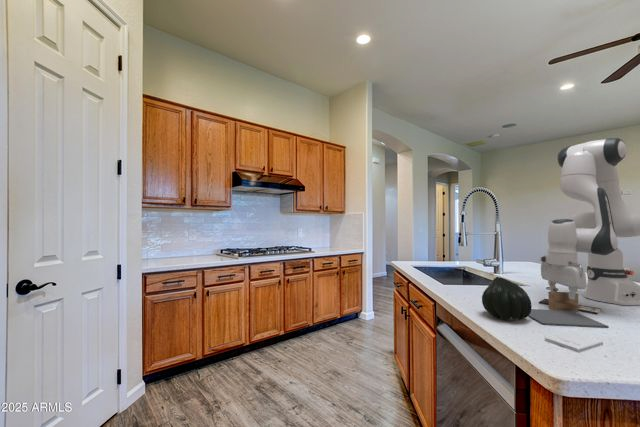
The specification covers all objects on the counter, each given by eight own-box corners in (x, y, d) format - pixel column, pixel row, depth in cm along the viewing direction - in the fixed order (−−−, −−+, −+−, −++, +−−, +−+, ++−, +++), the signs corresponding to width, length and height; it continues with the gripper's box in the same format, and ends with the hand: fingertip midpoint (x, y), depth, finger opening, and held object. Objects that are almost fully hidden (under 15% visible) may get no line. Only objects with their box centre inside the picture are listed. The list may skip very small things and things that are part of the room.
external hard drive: (603, 346, 82) (578, 354, 77) (568, 336, 90) (544, 342, 85) (602, 341, 82) (578, 348, 77) (568, 330, 90) (544, 336, 85)
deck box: (573, 310, 114) (573, 292, 114) (578, 312, 111) (578, 294, 111) (548, 309, 115) (548, 291, 115) (552, 311, 112) (552, 293, 112)
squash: (546, 311, 94) (525, 271, 105) (499, 312, 95) (482, 272, 105) (526, 328, 105) (508, 290, 115) (484, 328, 106) (470, 291, 116)
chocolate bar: (545, 298, 128) (601, 308, 114) (545, 300, 128) (601, 311, 114) (538, 302, 122) (596, 313, 108) (538, 304, 122) (596, 315, 108)
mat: (572, 312, 111) (572, 310, 111) (608, 328, 95) (608, 326, 95) (516, 309, 113) (516, 308, 113) (542, 324, 97) (542, 323, 97)
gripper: (592, 264, 102) (592, 303, 102) (553, 257, 123) (553, 290, 122) (572, 263, 103) (572, 302, 103) (537, 256, 123) (537, 289, 123)
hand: (562, 295), depth 113 cm, fingers open, 8 cm apart
